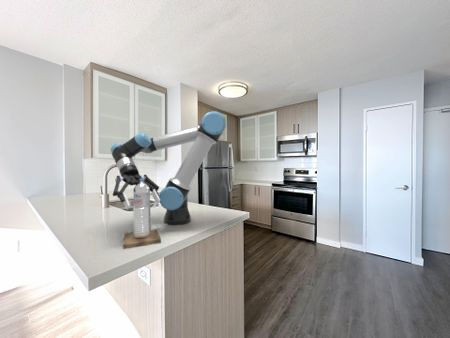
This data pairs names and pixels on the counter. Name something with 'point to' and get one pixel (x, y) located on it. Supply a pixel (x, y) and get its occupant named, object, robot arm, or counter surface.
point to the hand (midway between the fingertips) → (144, 204)
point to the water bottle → (141, 210)
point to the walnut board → (141, 239)
